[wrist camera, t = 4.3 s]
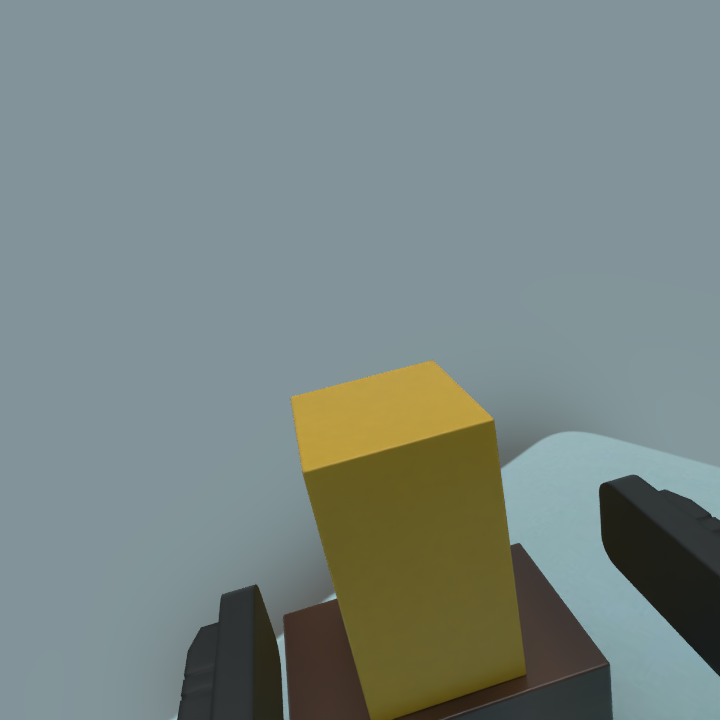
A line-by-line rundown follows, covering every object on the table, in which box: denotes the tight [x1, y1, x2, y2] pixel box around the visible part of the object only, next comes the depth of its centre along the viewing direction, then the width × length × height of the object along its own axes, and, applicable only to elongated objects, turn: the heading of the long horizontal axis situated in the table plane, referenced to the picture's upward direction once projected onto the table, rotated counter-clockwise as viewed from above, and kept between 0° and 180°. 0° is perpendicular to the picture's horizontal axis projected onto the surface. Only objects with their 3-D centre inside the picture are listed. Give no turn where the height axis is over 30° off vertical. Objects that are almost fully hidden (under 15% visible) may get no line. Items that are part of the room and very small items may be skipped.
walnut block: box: [283, 543, 613, 720], centre depth 19 cm, size 10×6×5 cm, turn 100°
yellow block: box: [291, 360, 526, 720], centre depth 17 cm, size 5×5×9 cm
